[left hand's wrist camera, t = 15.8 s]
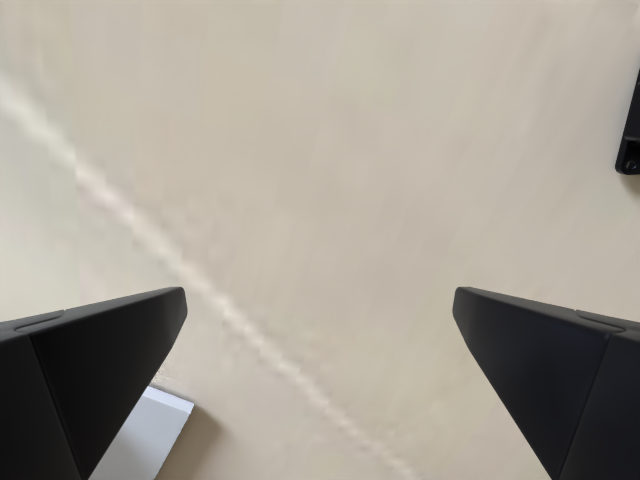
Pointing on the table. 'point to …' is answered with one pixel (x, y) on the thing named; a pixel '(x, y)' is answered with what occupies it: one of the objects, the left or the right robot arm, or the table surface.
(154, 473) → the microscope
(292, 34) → the table surface
